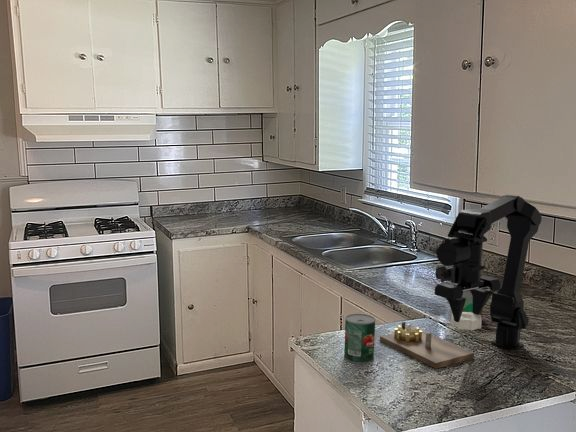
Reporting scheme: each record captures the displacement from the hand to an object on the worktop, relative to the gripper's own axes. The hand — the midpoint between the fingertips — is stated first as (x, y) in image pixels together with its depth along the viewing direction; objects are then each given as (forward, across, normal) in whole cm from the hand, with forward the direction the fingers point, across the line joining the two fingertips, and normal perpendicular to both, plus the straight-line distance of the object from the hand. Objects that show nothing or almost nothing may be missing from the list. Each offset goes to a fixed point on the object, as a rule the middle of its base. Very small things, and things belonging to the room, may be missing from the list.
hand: (465, 319), depth 153 cm
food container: (+12, -29, -25) cm, 41 cm away
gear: (+10, +2, -18) cm, 21 cm away
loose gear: (+2, 0, 0) cm, 2 cm away
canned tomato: (+12, +21, -17) cm, 30 cm away
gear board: (+12, +1, -12) cm, 17 cm away
